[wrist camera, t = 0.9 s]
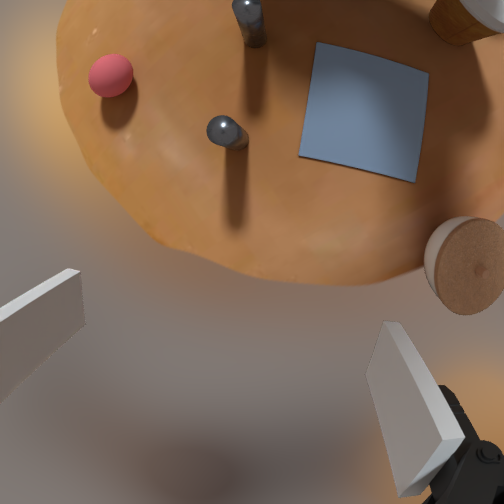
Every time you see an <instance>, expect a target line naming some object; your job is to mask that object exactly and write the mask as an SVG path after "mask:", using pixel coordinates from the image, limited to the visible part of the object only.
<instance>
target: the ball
mask: <svg viewBox="0 0 504 504" xmlns="http://www.w3.org/2000/svg"><path fill="white" fill-rule="evenodd" d="M132 78H133V68H132V65H131V63H130V62H129V60H128V59H126V58H125V57H123V56H121V55H118V54H109V55H106V56H103V57H101V58H100V59H98V60H97V61H96V62H95V63H94V64H93V66H92V67H91V69H90V72H89V84H90V87H91V89H92V90H93V91H94V92H95V93H96V94H97V95H99V96H102V97H114V96H117V95H119V94H121V93H123V92H124V91H125V90H126V89H127V88H128V87H129V85H130V83H131V81H132Z"/></svg>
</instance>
